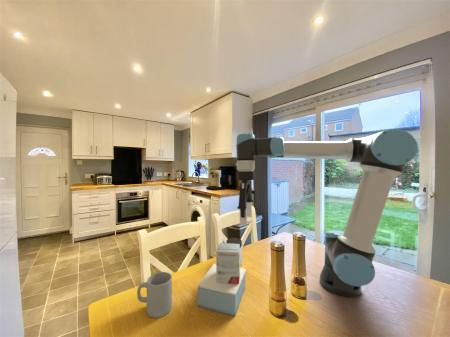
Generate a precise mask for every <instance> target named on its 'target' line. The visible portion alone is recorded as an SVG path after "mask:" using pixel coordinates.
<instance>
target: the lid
mask: <svg viewBox="0 0 450 337" xmlns="http://www.w3.org/2000/svg"><path fill="white" fill-rule="evenodd" d="M246 271H247V268H243V267H240V279H239V284H234V283H219V282H216V263H213V265H212V266H210V268H209V270H207V272H206V273H205V275H204V276H203V277H202V279H201V280H200V281H199V283H198V284H197V288H198V287H200V288H204V289H209V290H213V291H218V292H222V293H226V294H231V295H235V296H236V294H237V291H238V289H239V286H240V284H241V282H242V279H243V277H244V274H245V275H246Z"/></svg>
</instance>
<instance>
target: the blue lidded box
mask: <svg viewBox="0 0 450 337" xmlns="http://www.w3.org/2000/svg"><path fill="white" fill-rule="evenodd" d="M245 289H246V273H245V274H244V277H243V279H242V282H241V284H240V286H239V289H238V291H237V294H236V296H235V295H231V294H226V293H222V292H218V291H213V290H209V289H204V288H200V287H198V286H197V307H198V308H202V309H205V310H210V311H212V312H217V313H222V314H225V315H229V316H232V317H236V315H237V312H238V309H239V307H240V304H241V301H242V298H243V295H244V294H245V293H244V292H245V291H246V290H245Z"/></svg>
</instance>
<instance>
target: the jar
mask: <svg viewBox="0 0 450 337" xmlns="http://www.w3.org/2000/svg"><path fill="white" fill-rule="evenodd" d="M225 243H231V244H240V266H242V265H243V241H242V239H241V238H237V237H229V238H227V239H226V241H225Z"/></svg>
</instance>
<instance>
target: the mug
mask: <svg viewBox="0 0 450 337" xmlns="http://www.w3.org/2000/svg"><path fill="white" fill-rule="evenodd" d="M142 288H145V289H146V296H144V297H143V295H142V294H141V289H142ZM136 296H137V300H138V301H139V302H141V303H146V314H147V316H148V317H150V318H154V319H158V318H159V319H160V318H162V317H164V316H166V315H168V314H169V313H170V312H171V310H172V308H173V277H172V274H171V273H169V272H167V271H160V272H155V273H153V274H151V275H150V276H149V277H148V278H147V280H146V281H145V282H141V283H139V285H138V287H137V291H136Z"/></svg>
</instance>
